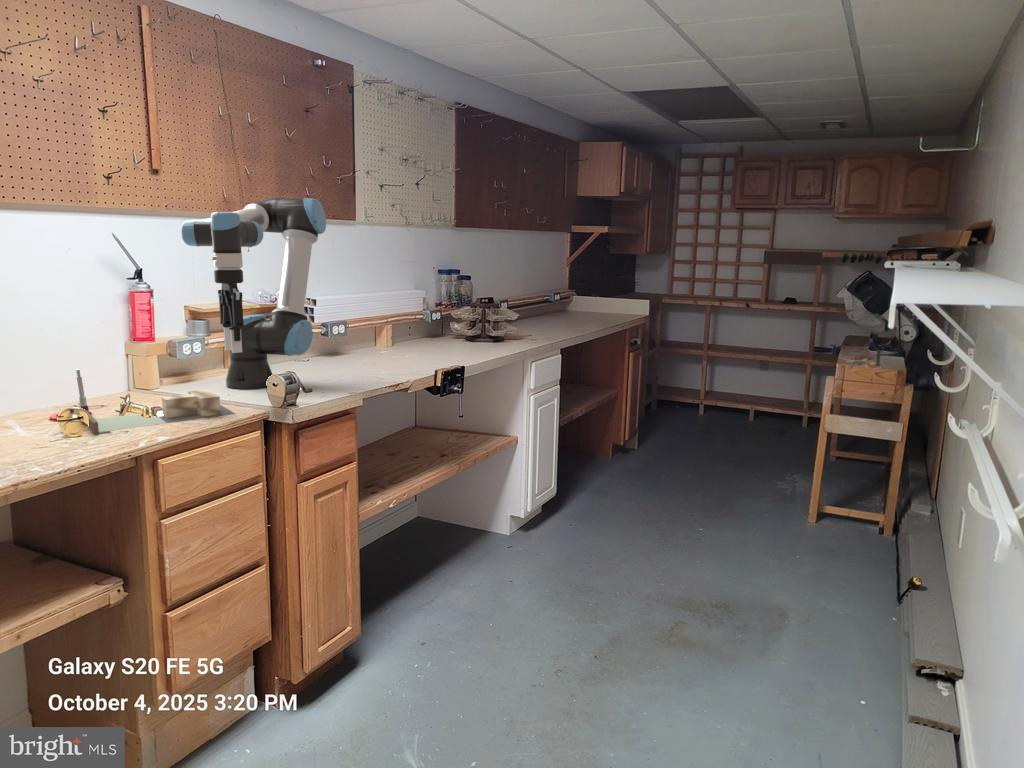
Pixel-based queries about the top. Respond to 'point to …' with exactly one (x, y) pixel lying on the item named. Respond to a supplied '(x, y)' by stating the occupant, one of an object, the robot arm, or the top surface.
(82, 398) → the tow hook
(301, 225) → the robot arm
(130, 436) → the top surface
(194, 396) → the t block
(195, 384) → the top surface
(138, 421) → the mat
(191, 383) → the top surface
